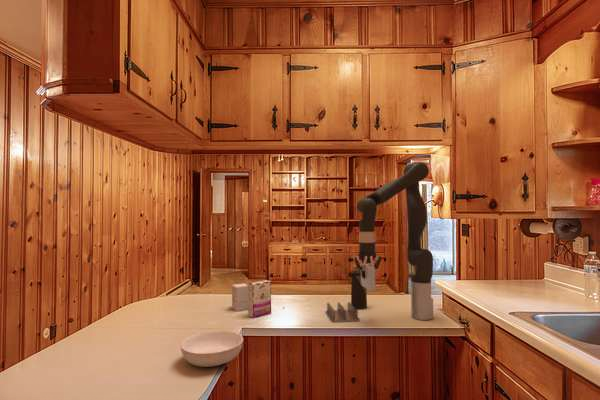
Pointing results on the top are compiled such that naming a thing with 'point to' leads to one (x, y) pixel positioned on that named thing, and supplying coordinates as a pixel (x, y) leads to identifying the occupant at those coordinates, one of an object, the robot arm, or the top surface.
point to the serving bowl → (211, 347)
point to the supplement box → (240, 297)
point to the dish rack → (342, 313)
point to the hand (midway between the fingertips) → (367, 278)
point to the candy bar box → (259, 298)
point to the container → (358, 291)
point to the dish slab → (369, 278)
